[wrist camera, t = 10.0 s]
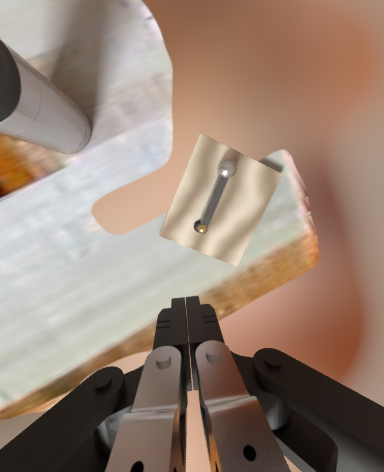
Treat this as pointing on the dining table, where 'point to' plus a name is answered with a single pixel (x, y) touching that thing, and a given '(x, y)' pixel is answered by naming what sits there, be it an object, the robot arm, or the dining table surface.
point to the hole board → (229, 206)
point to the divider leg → (216, 193)
